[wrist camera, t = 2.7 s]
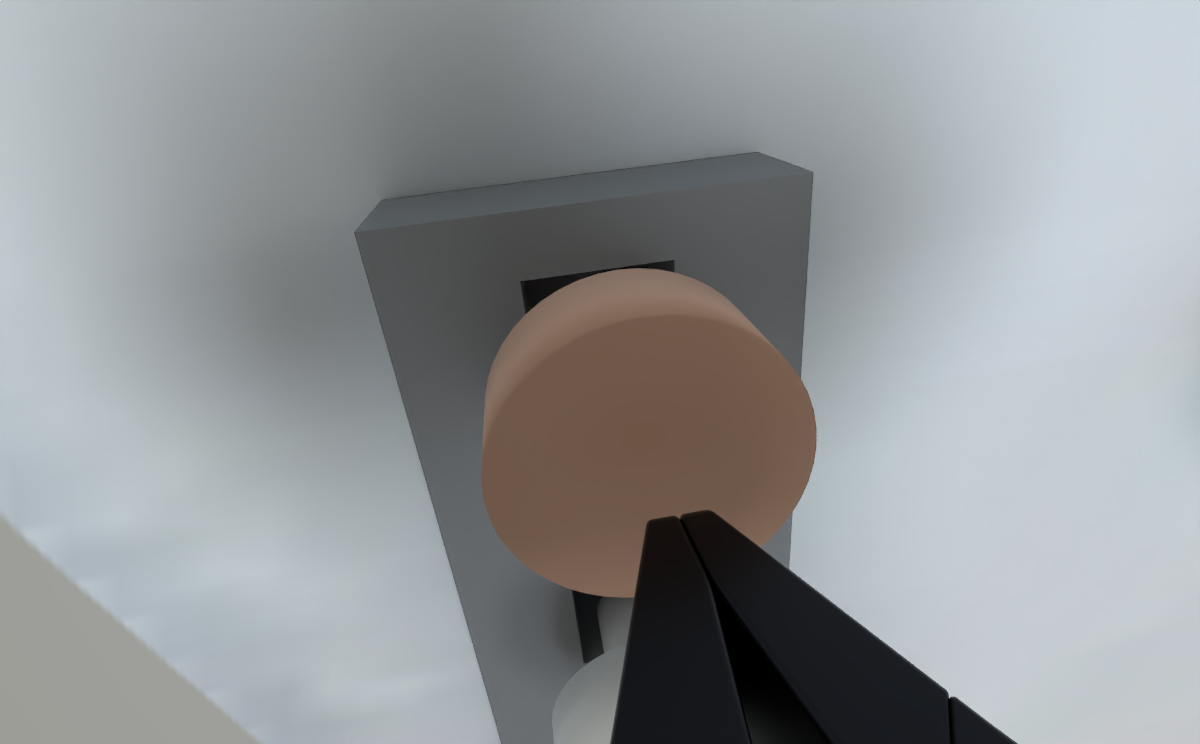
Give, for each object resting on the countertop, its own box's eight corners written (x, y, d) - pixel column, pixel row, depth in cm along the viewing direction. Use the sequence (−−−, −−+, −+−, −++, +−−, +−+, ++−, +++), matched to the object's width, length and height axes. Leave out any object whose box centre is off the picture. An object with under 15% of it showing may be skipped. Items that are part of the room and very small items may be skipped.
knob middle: (717, 648, 19) (785, 833, 14) (556, 680, 18) (574, 880, 14) (716, 524, 17) (796, 698, 12) (531, 557, 16) (542, 749, 12)
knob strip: (745, 730, 26) (774, 807, 23) (531, 774, 25) (534, 859, 22) (757, 151, 15) (812, 172, 12) (381, 200, 14) (354, 232, 12)
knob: (714, 414, 15) (806, 567, 10) (509, 447, 14) (512, 622, 10) (711, 207, 13) (828, 289, 8) (467, 240, 12) (447, 346, 8)
